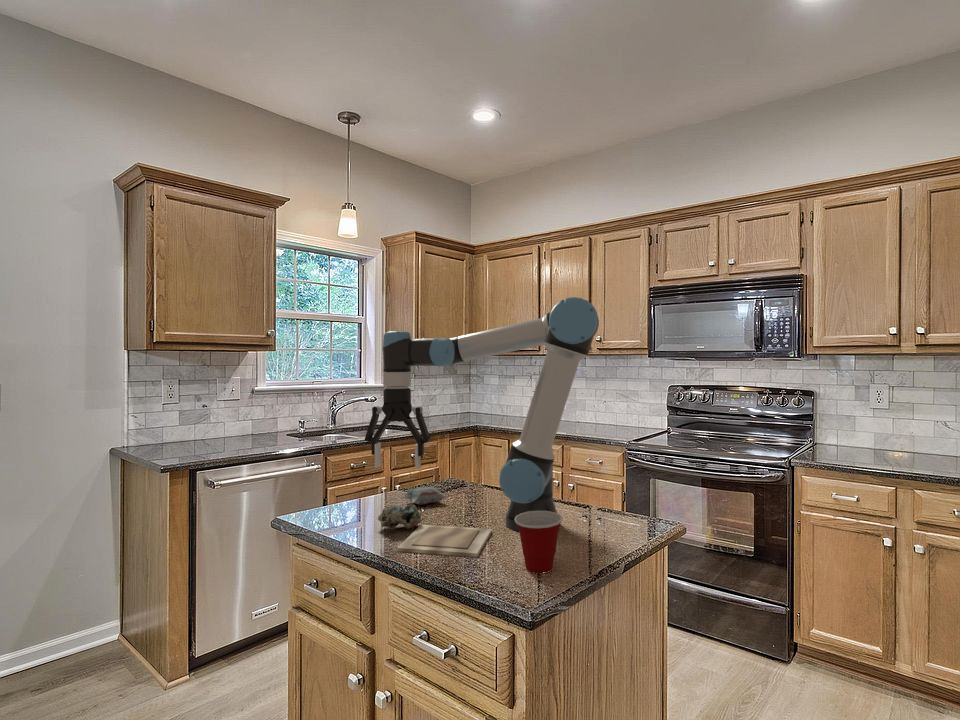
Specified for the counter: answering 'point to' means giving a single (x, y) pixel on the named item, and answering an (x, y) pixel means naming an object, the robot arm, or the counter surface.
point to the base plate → (446, 540)
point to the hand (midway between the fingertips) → (397, 467)
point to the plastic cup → (538, 538)
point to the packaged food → (425, 495)
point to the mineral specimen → (400, 516)
